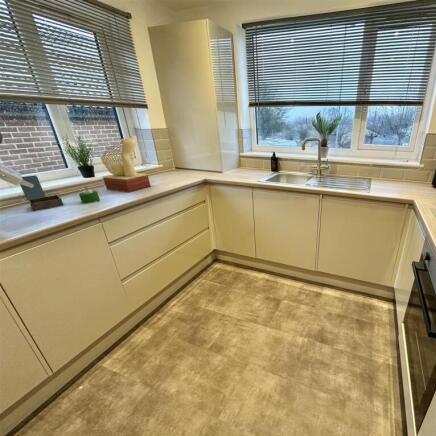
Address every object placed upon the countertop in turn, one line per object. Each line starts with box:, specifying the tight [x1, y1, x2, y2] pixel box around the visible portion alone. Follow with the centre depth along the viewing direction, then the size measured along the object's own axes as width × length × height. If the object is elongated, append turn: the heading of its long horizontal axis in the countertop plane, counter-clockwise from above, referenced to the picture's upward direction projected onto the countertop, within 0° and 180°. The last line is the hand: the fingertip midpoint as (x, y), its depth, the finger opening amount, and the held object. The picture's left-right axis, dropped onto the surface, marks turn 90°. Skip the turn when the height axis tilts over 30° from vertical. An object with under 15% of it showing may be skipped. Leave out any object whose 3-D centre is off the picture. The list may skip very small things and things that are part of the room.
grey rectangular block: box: [19, 174, 47, 201], centre depth 114 cm, size 6×6×10 cm
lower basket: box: [27, 194, 64, 212], centre depth 132 cm, size 12×12×5 cm
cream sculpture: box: [100, 135, 152, 193], centre depth 161 cm, size 25×18×35 cm
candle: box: [78, 184, 101, 204], centre depth 138 cm, size 8×8×10 cm
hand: (32, 185), depth 114 cm, fingers closed on grey rectangular block, 6 cm apart
